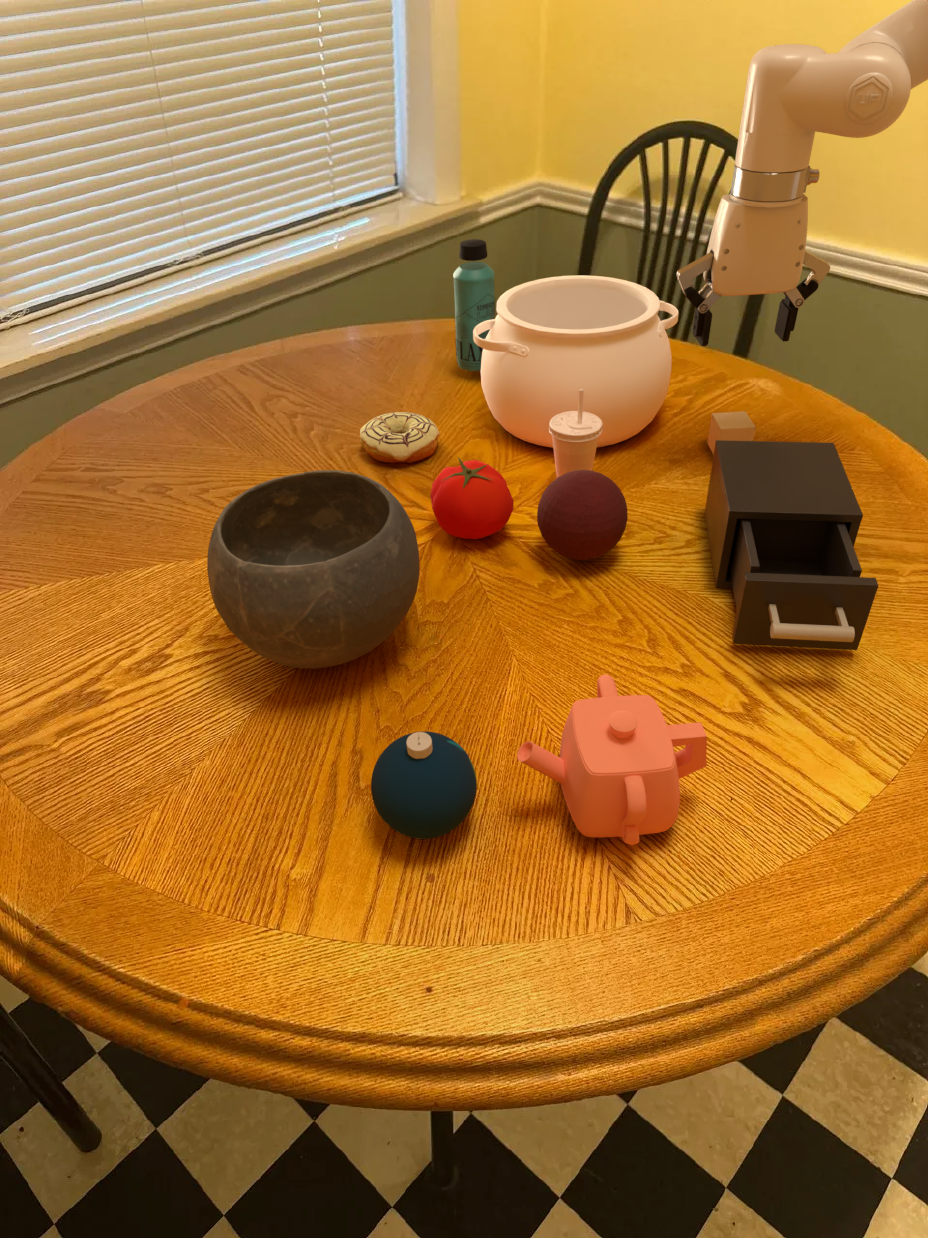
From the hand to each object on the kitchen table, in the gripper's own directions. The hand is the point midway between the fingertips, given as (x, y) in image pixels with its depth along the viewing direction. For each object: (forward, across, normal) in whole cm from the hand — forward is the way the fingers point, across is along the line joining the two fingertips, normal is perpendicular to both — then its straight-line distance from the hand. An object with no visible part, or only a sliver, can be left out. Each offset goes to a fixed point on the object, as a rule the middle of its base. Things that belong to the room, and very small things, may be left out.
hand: (741, 339), depth 103 cm
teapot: (+16, +25, +54) cm, 61 cm away
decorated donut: (+17, +42, -8) cm, 46 cm away
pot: (+16, +17, -15) cm, 28 cm away
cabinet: (+16, +1, +21) cm, 26 cm away
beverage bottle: (+17, +30, -32) cm, 47 cm away
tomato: (+17, +34, +13) cm, 39 cm away
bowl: (+17, +50, +30) cm, 61 cm away
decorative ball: (+16, +22, +19) cm, 33 cm away
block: (+16, -2, -2) cm, 16 cm away
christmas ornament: (+16, +40, +55) cm, 70 cm away
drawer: (+15, +3, +34) cm, 37 cm away
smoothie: (+16, +20, +6) cm, 27 cm away
